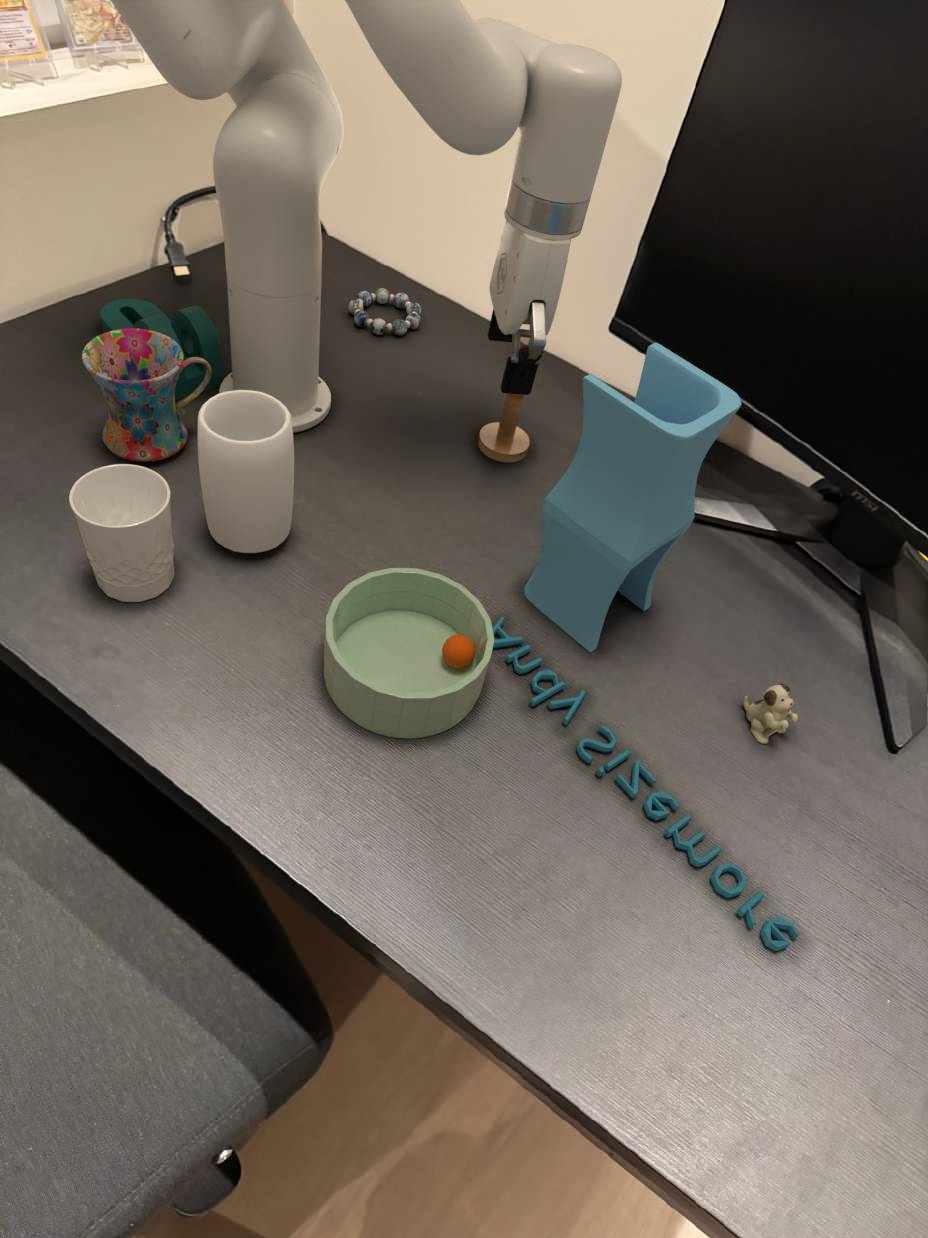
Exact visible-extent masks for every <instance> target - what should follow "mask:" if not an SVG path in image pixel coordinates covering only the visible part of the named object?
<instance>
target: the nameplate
mask: <svg viewBox="0 0 928 1238" xmlns="http://www.w3.org/2000/svg"><path fill="white" fill-rule="evenodd" d="M504 624H505V618H504V617H503V616H501V617H500V619H498V621H497V622H496V623H495V625H493V626H492V629H493V634H494V636H495V635H497V636H498V637H499V638H497V639H495V638H494V640H495V641H494V645H493V649H499V648H504V647H505V648H506V647H512V646H513V647H514V646H520V645H521V646H522V645H523V644H525V640H524V638H523V637H522V636H513V637H510V636H509V635H508V634H507V633H506V631H504V629H502V626H503V625H504ZM531 651H532V646H530V644H527V645H524V646H523V647H521V648H519V649H517V650H515V651H513V652H511V653H510V654H508V655H506V656H505V657H504V659H505V661H506V663H507V664H509V663H511V662H512V664H513V669H514V672H516V673H517V674H518V675H523V674H527V673H529V672H530V671H532V670H534V669H536V668H538V667H539V666H541V665H542V664H543V663H544V660H543V658H542V657H541V656H540V657H537V658H536V659H534V660H532V661H530V662H529V663H527V664H524V665H521V664H519V662H518V659H519V658H521V657H522V656H524V655H526V654H528V653H530V652H531ZM539 681H552V683H553V686H552V687H549V688H548V689H544V688H542V687H540V686H538V682H539ZM530 684H531V689H532V692H534V693H535V694H538V695H536V696H534V697H533V698H531V699H529V705H530V706H531V707H534V706H537V705H538V704H540V703H541V702H543V701H545V700H547V699H549V698H550V697H552V696H553V695H555V694H557V693H558V692H560V691H562V690H563V689H565V688H566V687H567V684H566V683H565V682H564V681H563V680H562V681H561V682H559V680H558V675H557V673H556V672H555V671H552V670H550V669H544V670H540V671H538V672H537V673H536V675H534V676H533V678H532V679H531V680H530ZM586 693H587V692H586V691H585V689H581V690H580V691H579V694H578V695H577V696H576V697H575V696H574V697H570V698H562V699H557V700H549V701H548V702H546V705H547V707H548V709H549V710H555V709H561V708H567V707H570V708H569V710H568V711H567V713H566V714H565V716H564V718H563V719H562V724H563V725H564V726H567V725H568V724H569V722H570V721H571V719H572V718H573V716H574V714H575V712H576V711H577V709H578V708H579V706H580V704H581V703H582V701H583V700H584V698H585V697H586V695H587V694H586ZM597 732H598V733H599V734H601V735H602V736H603V737H605V738H607V740H608V741H609V743H604V742H601V741H599V740H596V739H593V738H590V737H585V738H582V739H580V740H579V741H578V743H577V745H576V752H577V754H578V756H579V758H580V759H581V760H582V761H584V762H585V763H586V764H590V763H592V761H594V757H593V756H592V755H590V754H589V753H588V752H586V750H585V749H584V748H585V747H586V748H589V749H592V750H594V751H597V752H601V753H603V754H607V753H610V752H613V751H614V749H615V747H616V745H617V738H616V737H615V735H614V733H613V731H612V730H610V729H609V728H608V727H607V726H605V725H604V724H602V725H601V726H600V727H598V728H597ZM630 757H631V752H630V751H629V749H627V750H625V751H623V752H622V753H620V754H619V755H617V756H616V757H614V758H613V759H611V760H610V761H608V762H607V763H606V764H604V765H603V766H600V767H599V768H598V769H597V770H595V774H596V776H598V777H601V776H603V775H604V774H605V773H606V772H608V771H610V770H611V769H613V768H615V767H616V766H617V765H619V764H620V763H622V762H623V761H625V760H626V759H628V758H630ZM605 771H606V772H605ZM639 775H640V776H641V777H642V778H643V779H644V780H645V781H646V782H647V783H648V784H649V785H650V786H653V785H655V784H656V783H657V779H656V778H655V777H654V776H653V775H652V774H651V773H650V772H649V771H648V769H647V768H646V767H645V766H644V765H642V763H641V762H640V761H639V760H637V761H635V762H634V763H633V764H632V774H631V785H630V783H628V781H627V780H626V779H625V778H624V777H623V776H622V775H621V774H618V775H617V776H615V777H614V780H615V782H616V783H617V784H618V785H619V786H620V787H621V789H622V790H623V791H624V792H625V793H626V794H627V795H628V796H629V798H630V799H631V800H633V799H635V798H636V797H637V796H638V787H639ZM662 803H663V804H668V805H669V806H670V807H671V809H672V811H673V812H675V811H677V810H679V808H680V804H679V803H678V802H677V800H676V799H675V798H674V797H673V796H671V795H670V794H668V793H667V792H664V791H663V790H661V791H657V792H653V793H649V794H648V796H647V797H646V799H645V801H644V802H643V809H644V811H645V814H646V816H647V818H650V819H652V820H654V821H659V820H662V819H665V818H667V817H669V816H670V812H669V811H668V809H667V808H666V807H665V806H664V805H663V804H662ZM652 808H654V809H655V810H652ZM691 821H692V817H691V815H690V814H685V815H684V816H683V817H681V818H680V819H679V820H677V821H676V822H675V823H674V824H673V825H671V826H670V827H668V828H667V829H666V830H664V831H663V833H664V835H665V837H666V838H670V837H671V836H672V840H673V842H674V846H675V848H677V849H679V850H683V851H686V852H687V856H688V860H689V863H690V865H692V866H694V867H695V868H699V867H702V866H705V865H707V864H708V863H710V862H711V861H712V860H713V859H714V858H715V857H717V856H718V855H719V854H720V853H722V848H721V847H720V846H719V845H716V846H714V847H713V848H712V849H710V850H709V851H708V852H707V853H706V854H704V855H703V856H702V857H701V856H696V854H695V851H694V846H695V845H696V844H697V843H699V842H700V841H701V840H703V839H704V838H705V837H706V836H707V832H705V831H706V830H703V829H701V830H699V831H698V832H697V833H695V834H694V835H693V836H692V837H691V838H689V839H688V840H681V838H680V835H679V830H681V829H682V828H683V827H684V826H686V825H687V824H688V823H690V822H691ZM725 872H729V873H731V874H733V875H735V877H736V880H737V884H736V886H735V887H734V888H731V889H729V888H726V887H725V886H723V885H722V884H721V882H720V877H721V875H722V873H725ZM710 882H711V884H712V886H713V888H714V891H715V892H716V893H718V895H721V896H723V897H725V898H726V899H729V898H733V897H736V896H739V895H742V893H743V891H744V889H745V886H746V884H747V879H746V876H745V875H744V872H743V870H742V869H741V868H740V867H738V866H737V865H734V863H731V862H728V863H725V864H721V865H717V866H716V867H715V869H714V871H713V872H712V874H711V877H710ZM763 898H765V894H764V893H763V891H761V890H759V891H757V892H756V893H755V894H754V895H752V896H751V897H750V898H749V899H748V900H747V901H745V903H744V904H743V905H741V906H740V907H739V908H738V909H736V911H735V913H736V914H737V916H738V917H740V918H742V917H744V916H745V920H746V924H747V927H748V928H749V929H752V928H753V927H754V926H755V925H757V921H756V920H755V919H754V916H753V911H752V909H753V908H754V907H755V906H756V905H757V904H758V903H759V902H761V900H762V899H763ZM779 929H780V930H784V931H787V932H788V934H789V935H790V937H791V938H792V939H793V940H796V939H797V938H798V937H799V936H800V932H799V930H798V929H797V928H796V926H795V925H794V924H793V923H792V922H790V921H788V920H787V919H785V918H783V917H781V916H778V917H774V918H770V919H768V920H767V919H766V920H765V922H764V925H763V927H762V928H761V931H760V937H761V939H762V941H763V944H764V946H765V947H767V948H768V949H771V950H773V951H775V952H777V951H780V950H782V949H786V948H787V947H789V946H790V945H791V941H790V940H789V939H787V937H786V936H785V935H784V934H783V933H782V932H781V931H780V930H779ZM772 937H773V938H774V939H775V940H774V939H773V940H772Z"/></svg>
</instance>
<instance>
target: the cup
mask: <svg viewBox="0 0 928 1238" xmlns="http://www.w3.org/2000/svg"><path fill="white" fill-rule="evenodd" d="M196 444H197V460H198V461H197V462H198V473H199V481H200V487H201V488H200V489H201V495H202V502H203V508H204V513H205V519H206V523H207V528H208V530H209V533H210V536H211V537H212V538H213V540H215V542H216V543H217V544H219V545H221V546H222V547H223V548H225V549H228V550H230V551H232V552H237V553H244V554H257V553H262V552H267V551H270V550H272V549H275V548H277V547H278V546H279V545H281V544H282V543H283V542H285V540H286V539H287V537H288V536H289V534H290V532H291V527H292V521H293V520H292V519H293V507H294V506H293V505H294V490H295V489H294V488H295V445H294V433H293V430H292V420H291V414H290V412H289V411H288V409H287V408H286V407H285V406H284V405H283V404H282V403H281V402H280V401H279V400H277V399H276V398H274V397H272V396H270V395H268V394H265V393H263V392H258V391H252V390H234V391H227V392H223V393H220V394H219V393H217V394H215V395H214V396H212V397H210V398H209V399H208V400H206V401H205V402H204V403H203V404H202V405H201V407H200V409H199V411H198V415H197V443H196Z"/></svg>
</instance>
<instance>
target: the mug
mask: <svg viewBox="0 0 928 1238" xmlns="http://www.w3.org/2000/svg"><path fill="white" fill-rule="evenodd" d="M81 360H82V363H83V366H84V367H85V369H86V370H87V371H88V372H89V374H90V375H91V376H92V377H93V379H94V381H95V382H96V384H97V386H98V388H99V389H100V392H101V394H102V396H103V398H104V399H103V400H104V404H105V409H106V422H105V425H104V427H103V430H102V441H103V443H104V445H105V447H107V449H108V450H109V451H110V452H111V453H113V454H114V455H115V456H118V457H119V458H122V459H124V460H127V461H132V462H144V463H145V462H147V463H149V462H157V461H160V460H165V459H168V458H170V457H172V456H174V455H175V454H177V453H178V452H180V451H181V450H182V449H183V447H184V446H185V445H186V443H187V440H188V437H189V433H188V429H187V426H186V424H185V423H184V421H183V420H182V419H181V417H180V415H179V413H180V414H182V415H185V414H186V410H185V408H183V407H185V406H187V405H188V404H189V403H191V402H193V400H195V399H196V398H197V397H198V396H199V395H200V394H202V393H203V392H202V391H203V390H204V388H205V387H206V385H207V384H208V382H209V380H210V377H211V367H210V364H209V363H208V362H207V361H206V360H205V359H203V358H200V357H191V358H188V359H186V360H184V355H183V351H182V349H181V347H180V346H179V345H178V343H177V342H175V341H174V340H173V339H171V338H170V337H168V336H166V335H164V334H161V333H159V332H155V331H151V330H146V329H119V330H114V331H110V332H106V333H104V332H103V333H101V334H99V335H97V336H95V337H94V338H92V339H91V340H90V341H89V342H87V344H85V346H84V348H83V350H82V352H81ZM192 363H202V364H204V365H205V366H206V367H207V372H206V375H205V378H204V380H203V381H202V383H201V384H200V386H199V387H198V388H197V389H196V390H195V391H194V392H193V393H192V394H190V395H189V396H188V397H185V398H182V399H180V401H178V402H177V403H176V401H175V386H176V381H177V380H178V379H179V375H180V372H181V371H182V370H183V369H184V368H185V367H186V366H187V365H189V364H192ZM178 412H179V413H178Z"/></svg>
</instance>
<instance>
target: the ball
mask: <svg viewBox="0 0 928 1238" xmlns="http://www.w3.org/2000/svg"><path fill="white" fill-rule="evenodd" d="M475 654H476V648H475V645H474V643H473V641H472V640H471V639H470V638H469V637H467V636H465V635H460V634H458V635H453V636H451V637H449V638H448V639H447V640H446V641H445V643H444V645H443V648H442V655H443V658H444V660H445V661H446V663H447V664H449V665H450V666H452V667H455V668H463V667H466V666H468V665H469V664H471V662H472V661H473V660H474V658H475Z"/></svg>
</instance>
